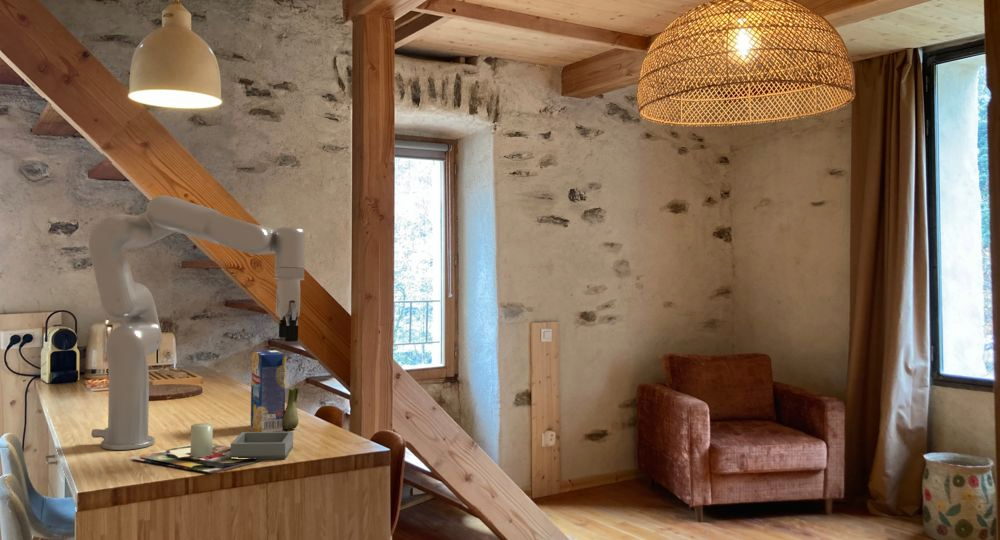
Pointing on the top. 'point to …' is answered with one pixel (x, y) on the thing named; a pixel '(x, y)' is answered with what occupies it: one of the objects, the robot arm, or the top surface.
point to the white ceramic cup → (201, 440)
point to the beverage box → (268, 390)
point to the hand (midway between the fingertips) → (288, 339)
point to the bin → (262, 445)
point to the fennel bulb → (291, 410)
